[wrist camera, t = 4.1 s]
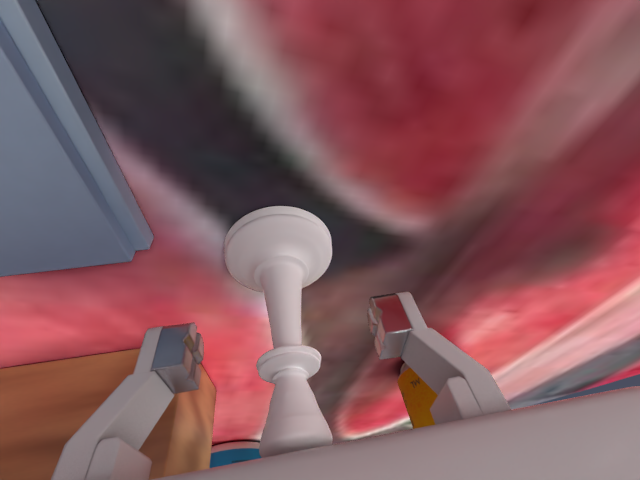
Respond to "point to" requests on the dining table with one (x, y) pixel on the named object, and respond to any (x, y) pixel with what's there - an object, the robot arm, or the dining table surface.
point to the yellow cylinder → (416, 397)
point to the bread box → (80, 403)
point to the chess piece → (284, 316)
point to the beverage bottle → (234, 453)
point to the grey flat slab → (55, 161)
